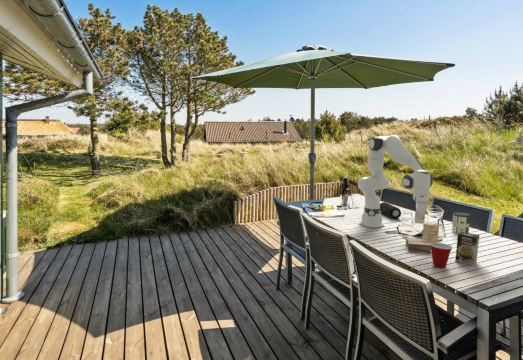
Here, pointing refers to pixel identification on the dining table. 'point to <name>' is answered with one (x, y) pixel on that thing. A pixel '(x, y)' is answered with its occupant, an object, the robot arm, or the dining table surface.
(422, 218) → the maple block
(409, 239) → the walnut block
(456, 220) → the coffee can
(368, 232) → the dining table surface
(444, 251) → the plastic cup
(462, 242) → the coffee box
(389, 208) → the portable speaker
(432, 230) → the supplement box
